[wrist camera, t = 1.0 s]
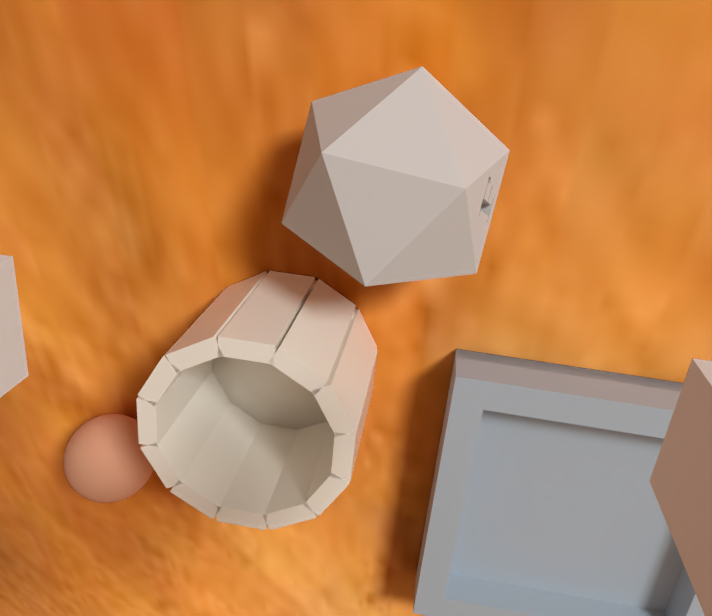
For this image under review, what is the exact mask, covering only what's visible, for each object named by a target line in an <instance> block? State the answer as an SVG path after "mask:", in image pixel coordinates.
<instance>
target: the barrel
mask: <svg viewBox="0 0 712 616" xmlns="http://www.w3.org/2000/svg"><path fill="white" fill-rule="evenodd" d="M355 307H356V305H355V304H353V303H352V302H351V301H349V300H348V299H347V298H345V297H344V296H342V295H341V294H340V293H338V292H337V291H335V290H334V289H333V288H331V287H330V286H328V285H327V284H326V283H324V282H323V281H322V280H320V279H318V281H317V280H315V277H311V276H304V275H297V274H290V273H283V272H276V271H270V272H269V273H267V271H265V272H263V273H260V274H258V275H255V276H253V277H250V278H248V279H246V280H243V281H241V282H238V283H236V284H233V285H231V286H228V287H227V288H226V289H224V291H223V292H222V293H221V294H220V295H219V296H218V297H217V298H216V299H215V300H214V301H213V303H212V304H211V305H210V306H209V307H208V308H207V309H206V310H205V311H204V312H203V313H202V315H201V316H200V317H199V318H198V319H197V320H196V321H195V322H194V323H193V324H192V325H191V327H190V328H189V329H188V330H187V331H186V332H185V333H184V334H183V335H182V336H181V337H180V339H179V340H178V341H177V342H176V343H175V344H174V345H173V346H172V347H171V348H170V349H169V351H168V352H167V353H166V354H165V355H164V356H163V357H162V358H161V360H160V361H159V363H158V364H157V366H156V368H155V369H154V371H153V372H152V374H151V375H150V377H149V378H148V380H147V381H146V383H145V384H144V386H143V387H142V389H141V390H140V392H139V393H138V398H137V399H136V402H137V420H138V439H139V444H143V445H142V446H141V447H140V448H141V450H142V451H143V453H144V455H145V456H146V458H147V459H148V461H149V462H150V464H151V465H152V467H153V468H154V470H155V472H156V473H157V475H158V476H159V478H160V479H161V481H162V482H163V484H164V485H165V487H166V489H167V488H170V487H172V489H171V491H170V492H171V493H173V494H174V495H176V496H177V497H179V498H180V499H182V500H183V501H185V502H186V503H188V504H189V505H191V506H193V507H194V508H196V509H197V510H199V511H200V512H202V513H203V514H205V515H206V516H208V517H209V518H211V519H213V518H214V517H215V516H216V514H217V521H219V522H224V523H230V524H235V525H241V526H246V527H251V528H257V529H262V530H266V529H267V526H268V527H269V529H270V530H272V529H276V528H280V527H284V526H287V525H291V524H295V523H299V522H302V521H306V520H310V519H314V518H316V515H318V516H320V514H321V513H322V512H323V511H324V510H325V509H326V508H327V507H328V506H329V505H330V504H331V503H332V502H333V501H334V500H335V499H336V497H337V496H338V495H339V494H340V493H341V492H342V491H343V490H344V489H345V488H346V487H347V486H348V485H349V482H350V481H351V477H352V473H353V469H354V465H355V461H356V457H357V453H358V448H359V444H360V440H361V436H362V432H363V428H364V424H365V420H366V416H367V411H368V407H369V403H370V399H371V395H372V391H373V385H374V377H375V368H376V360H377V352H378V350H376V349H377V346H376V344H375V342H374V339H373V337H372V335H371V333H370V331H369V329H368V327H367V325H366V323H365V321H364V318H363V316H362V314H361V312H360V310H359V309H355Z"/></svg>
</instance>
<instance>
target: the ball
mask: <svg viewBox="0 0 712 616" xmlns="http://www.w3.org/2000/svg"><path fill="white" fill-rule="evenodd" d="M142 445H143V444H139V439H138V421H137V420H136V419H134V418H132V417H129V416H126V415H122V414H105V415H101V416H97V417H95V418H92V419H90V420H89V421H87V422H85V423H84V424H82V425H81V426H80V427H79V428H78V429H77V430H76V431H75V432H74V434H73V435H72V436H71V438H70V439H69V441H68V443H67V446H66V449H65V452H64V459H63V465H64V472H65V475H66V478H67V480H68V482H69V484H70V485H71V486H72V488H73V489H74V490H75V491H76V492H77V493H78V494H80V495H81V496H83V497H85V498H87V499H89V500H91V501H95V502H100V503H112V502H117V501H121V500H124V499H126V498H128V497H130V496H132V495H134V494H135V493H136V492H138V491H139V490H140V489H141V488H142V487H143V486H144V485H145V484H146V483H147V481H148V480H149V478H150V476H151V475H152V472H153V470H154V468H153V467H152V465H151V464H150V462H149V461H148V459H147V458H146V456H145V455H144V453H143V451H142V450H141V448H140V447H141V446H142Z"/></svg>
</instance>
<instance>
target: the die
mask: <svg viewBox="0 0 712 616" xmlns="http://www.w3.org/2000/svg"><path fill="white" fill-rule="evenodd" d="M509 152H510V150H509V149H508V148H507V147H506V146H505V145H504V144H503V143H502V142H501V141H500V140H498V139H497V138H496V137H495V136H494V135H493V134H492V133H491V132H490V131H489V130H488V129H487V128H486V127H485V126H484V125H483V124H482V123H481V122H480V121H479V120H478V119H477V118H476V117H475V116H474V115H472V114H471V113H470V112H469V111H468V110H467V109H466V108H465V107H464V106H463V105H462V104H461V103H460V102H459V101H458V100H457V99H456V98H455V97H454V96H453V95H452V94H451V93H450V92H449V91H447V90H446V89H445V88H444V87H443V86H442V85H441V84H440V83H439V82H438V81H437V80H436V79H435V78H434V77H433V76H432V75H431V74H430V73H429V72H428V71H427V70H426V69H425V68H424V67H419V68H416V69H413V70H410V71H406V72H403V73H400V74H397V75H394V76H391V77H387V78H384V79H381V80H378V81H375V82H372V83H369V84H365V85H362V86H359V87H356V88H353V89H350V90H346V91H343V92H340V93H337V94H334V95H331V96H327V97H324V98H321V99H318V100H315V101H312V102H311V106H310V110H309V114H308V118H307V122H306V126H305V130H304V134H303V138H302V142H301V146H300V150H299V154H298V158H297V162H296V166H295V170H294V174H293V178H292V183H291V187H290V191H289V195H288V199H287V203H286V207H285V211H284V215H283V219H282V223H281V224H283V225H284V226H285V227H287V228H288V229H289V230H291V231H292V232H293V233H295V234H296V235H297V236H299V237H300V238H301V239H303V240H304V241H305V242H307V243H308V244H309V245H311V246H312V247H313V248H315V249H316V250H317V251H319V252H320V253H321V254H323V255H324V256H325V257H327V258H328V259H329V260H331V261H332V262H333V263H335V264H336V265H337V266H339V267H340V268H341V269H343V270H344V271H345V272H347V273H348V274H349V275H351V276H352V277H353V278H355V279H356V280H357V281H359V282H360V283H361V284H363V285H364V286H365V287H366V286H374V285H383V284H392V283H400V282H409V281H417V280H426V279H435V278H443V277H452V276H461V275H469V274H476V273H477V270H478V266H479V262H480V259H481V255H482V251H483V247H484V244H485V240H486V236H487V233H488V229H489V225H490V222H491V218H492V214H493V211H494V207H495V203H496V199H497V196H498V192H499V188H500V185H501V181H502V177H503V174H504V170H505V166H506V163H507V159H508V155H509Z"/></svg>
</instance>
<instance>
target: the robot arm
mask: <svg viewBox="0 0 712 616" xmlns="http://www.w3.org/2000/svg"><path fill="white" fill-rule="evenodd" d="M27 376H29V375H28V367H27V360H26V352H25V345H24V337H23V330H22V322H21V314H20V307H19V299H18V292H17V284H16V277H15V269H14V261H13V256H7V255H0V398H1V397H2V396H3V395H4V394H6V393H7V392H8V391H9V390H11V389H12V388H13V387H15V386H16V385H17V384H18V383H20V382H21V381H22V380H24V379H25V378H26V377H27ZM649 482H650V484H651V486H652V489H653V491H654V494H655V496H656V499H657V501H658V503H659V506H660V508H661V511H662V513H663V516H664V518H665V520H666V523H667V525H668V528H669V530H670V532H671V535H672V537H673V540H674V542H675V545H676V547H677V549H678V552H679V554H680V557H681V559H682V562H683V564H684V566H685V569H686V571H687V574H688V576H689V579H690V581H691V583H692V586H693V588H694V591H695V593H696V596H697V598H698V600H699V603H700V605H701V608H702V610H703V613H704V615H705V616H712V361H707V360H701V359H694V358H692V361H691V364H690V366H689V369H688V372H687V375H686V378H685V381H684V384H683V386H682V389H681V392H680V395H679V398H678V401H677V404H676V407H675V409H674V412H673V415H672V418H671V421H670V424H669V427H668V429H667V432H666V435H665V438H664V441H663V444H662V447H661V449H660V452H659V455H658V458H657V461H656V464H655V467H654V469H653V472H652V475H651V478H650V481H649Z"/></svg>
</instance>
